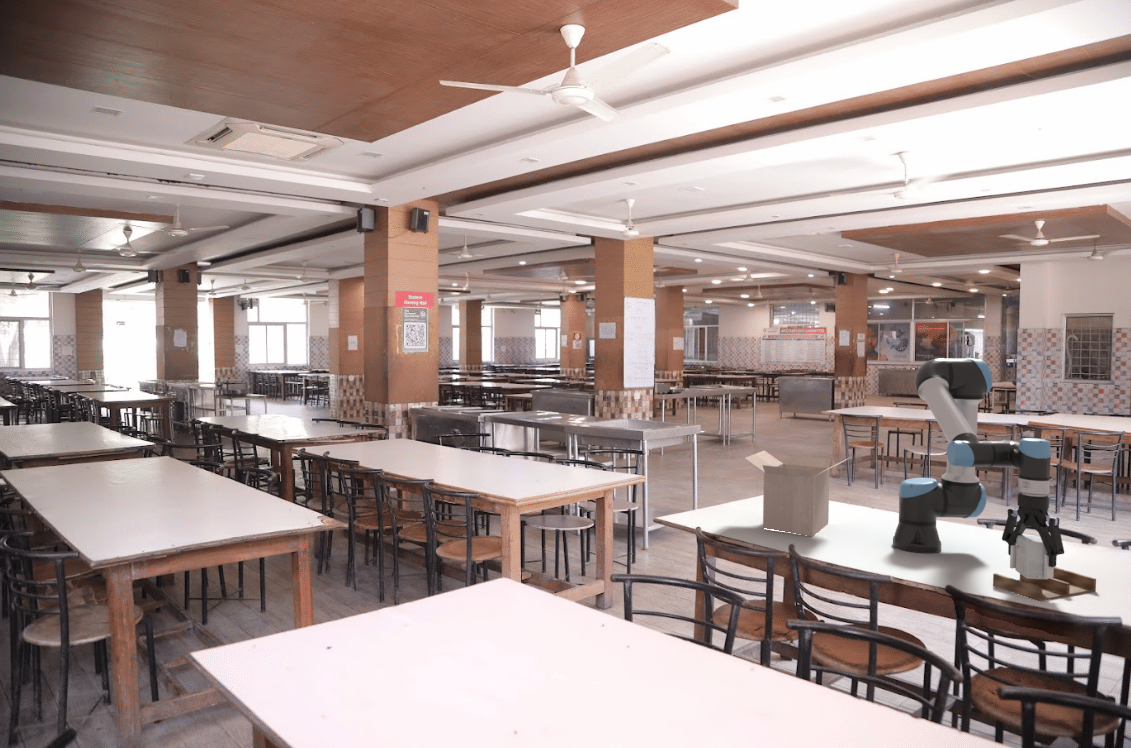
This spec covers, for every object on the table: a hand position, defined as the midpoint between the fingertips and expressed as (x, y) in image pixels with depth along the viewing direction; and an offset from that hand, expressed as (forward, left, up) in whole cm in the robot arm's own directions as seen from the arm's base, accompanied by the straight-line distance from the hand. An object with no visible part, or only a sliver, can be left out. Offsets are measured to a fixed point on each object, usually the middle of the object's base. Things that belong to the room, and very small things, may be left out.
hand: (1031, 572), depth 213 cm
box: (-84, -13, -6) cm, 85 cm away
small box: (0, 0, -1) cm, 1 cm away
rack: (0, +6, -5) cm, 8 cm away
